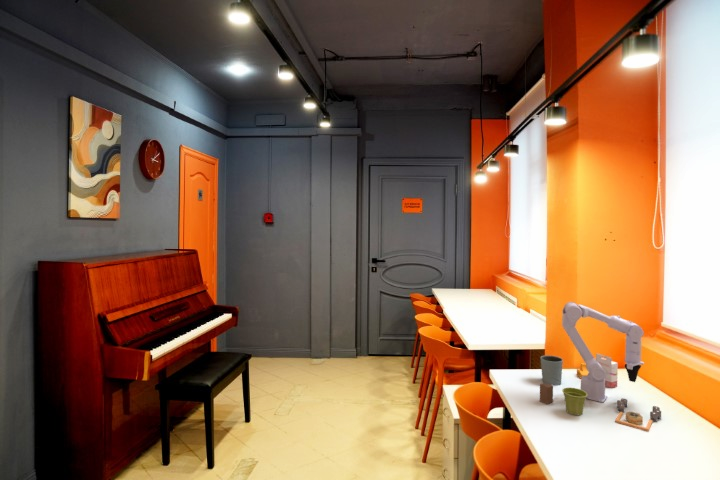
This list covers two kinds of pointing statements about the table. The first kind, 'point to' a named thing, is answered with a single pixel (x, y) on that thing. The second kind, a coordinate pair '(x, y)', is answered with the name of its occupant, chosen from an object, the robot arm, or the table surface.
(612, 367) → the ink cartridge box
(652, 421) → the orange bay
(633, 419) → the brass nut
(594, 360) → the robot arm
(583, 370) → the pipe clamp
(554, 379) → the grey bucket
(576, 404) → the plant pot
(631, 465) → the table surface
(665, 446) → the table surface
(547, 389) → the wooden block
